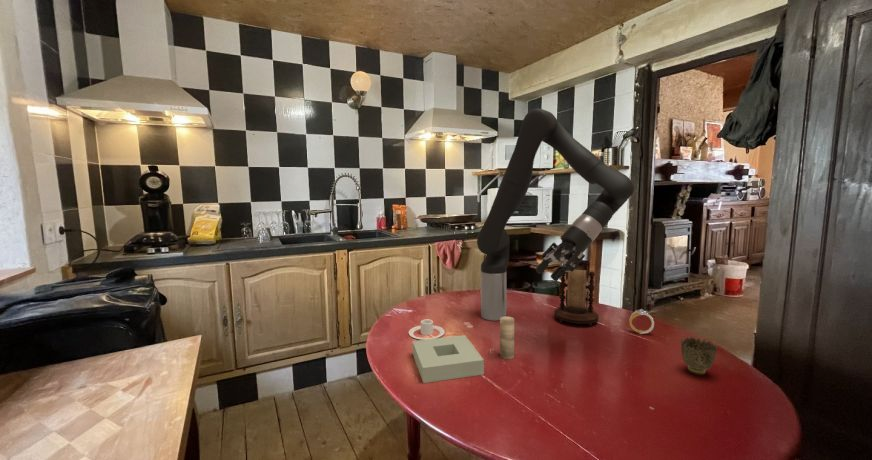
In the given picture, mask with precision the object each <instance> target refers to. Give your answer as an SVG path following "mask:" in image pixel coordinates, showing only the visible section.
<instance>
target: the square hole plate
mask: <svg viewBox="0 0 872 460" xmlns="http://www.w3.org/2000/svg"><path fill="white" fill-rule="evenodd" d="M411 342H412V344H411V345H412V356H413V359H414V362H415V365H416V367H417V370H418V372H419V375H420V377H421V380H422V383H423V384H426V383H434V382H441V381H448V380H454V379H455V380H456V379H462V378H469V377H478V376H483V375H484V374H485V359H484V358H483V357H482V356H481V354H480V353H479V352H478V350H477V349H476V347H475V346H474V345H473V344H472V342H471V341H470V340H469V338H468V337H467V335H466V334H463V335H454V336H445V337H438V338H435V339H427V340H420V339H417V340H412V341H411Z"/></svg>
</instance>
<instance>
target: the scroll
mask: <svg viewBox="0 0 872 460" xmlns="http://www.w3.org/2000/svg"><path fill="white" fill-rule="evenodd" d="M595 276H596V273H595V272H594V271H589V266H588V265H586V269H576V268H575V269H574V271H572V272H571V271H567V272H565V273H564V274H563V275H562V276H561V277H560V283H559V287H560V295H559V299H560V300H559V301H560V303H559V307H557V308H555V309H554V311H553V313H554V315H553V316H555V317H556V318H557V319H558V320H559V322H560V324H562V323H563V322H567V323H572V324H578V325H579V324H580V325H586V324H587V325H588V326H589V327H592V324H593V323H596V322H598V321H599V314H598V312H596V311H595V310H594V307H593V306H594V301H595V299H594V290H595V280H594V279H595ZM566 281H567V283H566ZM587 282H589V284H588V285H587ZM566 287H567V289H566ZM565 289H566V291H565ZM587 290H588V291H589V292H588V291H587Z"/></svg>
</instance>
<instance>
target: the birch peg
mask: <svg viewBox="0 0 872 460" xmlns="http://www.w3.org/2000/svg"><path fill="white" fill-rule="evenodd" d="M514 357H515V318H514V317H512V316H507V315H506V316H505V317H501V318H500V320H499V358H502V359H505V360H512V359H514Z"/></svg>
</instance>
